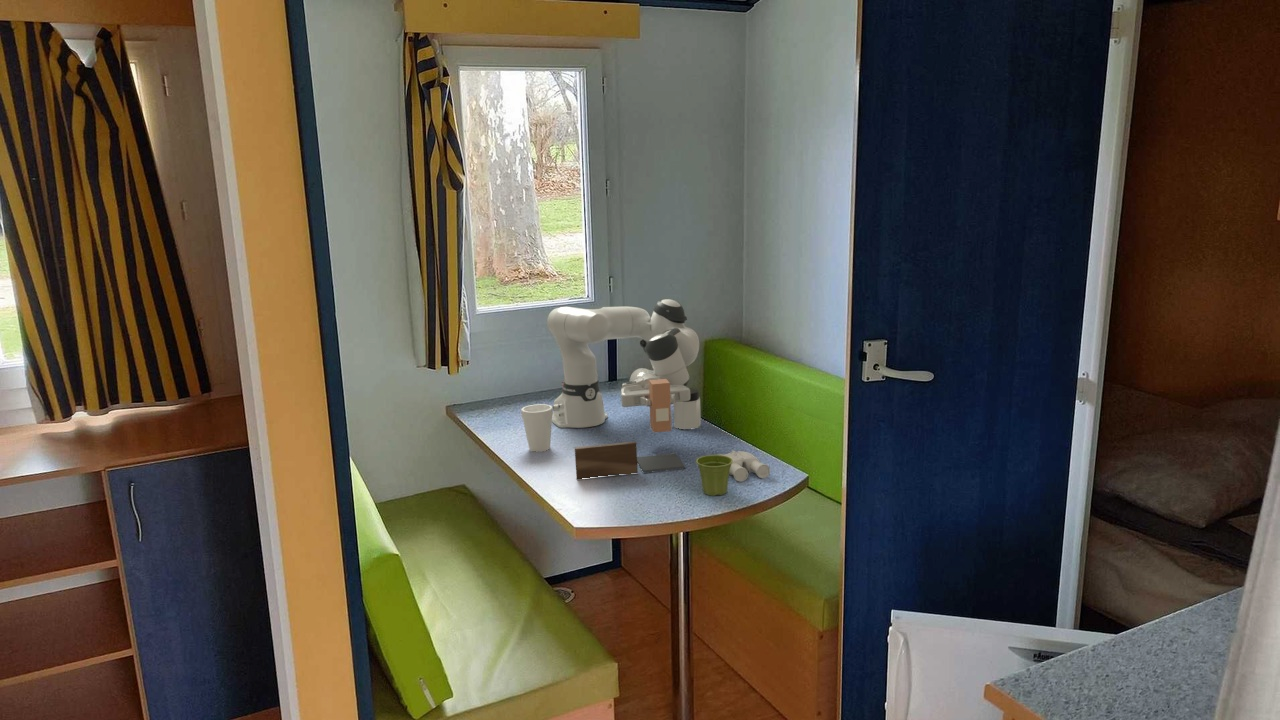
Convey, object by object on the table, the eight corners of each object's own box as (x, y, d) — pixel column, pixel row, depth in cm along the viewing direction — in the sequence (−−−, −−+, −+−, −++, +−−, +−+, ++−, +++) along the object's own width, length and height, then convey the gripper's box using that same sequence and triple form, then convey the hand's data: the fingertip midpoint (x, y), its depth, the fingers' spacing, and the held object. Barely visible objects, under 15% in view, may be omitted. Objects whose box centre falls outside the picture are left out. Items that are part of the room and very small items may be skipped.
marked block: (650, 427, 256) (648, 380, 253) (667, 426, 257) (665, 378, 254) (654, 432, 251) (652, 384, 248) (671, 431, 252) (670, 383, 249)
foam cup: (521, 447, 278) (517, 406, 276) (549, 442, 282) (546, 402, 279) (529, 455, 270) (526, 414, 267) (558, 450, 273) (556, 409, 271)
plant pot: (708, 483, 240) (707, 452, 238) (739, 489, 234) (739, 457, 233) (690, 494, 232) (689, 462, 230) (722, 500, 227) (721, 468, 225)
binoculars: (734, 484, 239) (734, 467, 238) (713, 465, 254) (712, 450, 253) (770, 478, 242) (770, 462, 241) (747, 460, 257) (746, 445, 256)
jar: (706, 426, 292) (705, 390, 289) (688, 431, 286) (687, 395, 284) (686, 421, 298) (685, 386, 296) (669, 426, 293) (667, 391, 290)
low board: (576, 478, 248) (574, 447, 246) (636, 472, 251) (635, 441, 249) (577, 480, 247) (575, 449, 245) (637, 473, 249) (636, 443, 248)
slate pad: (635, 459, 262) (635, 457, 261) (675, 455, 264) (675, 453, 263) (643, 473, 250) (642, 470, 250) (684, 468, 252) (684, 466, 252)
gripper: (685, 398, 268) (696, 409, 254) (617, 404, 264) (625, 416, 251) (684, 377, 266) (695, 388, 253) (616, 383, 263) (624, 394, 250)
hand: (660, 402), depth 252 cm, fingers closed on marked block, 5 cm apart
